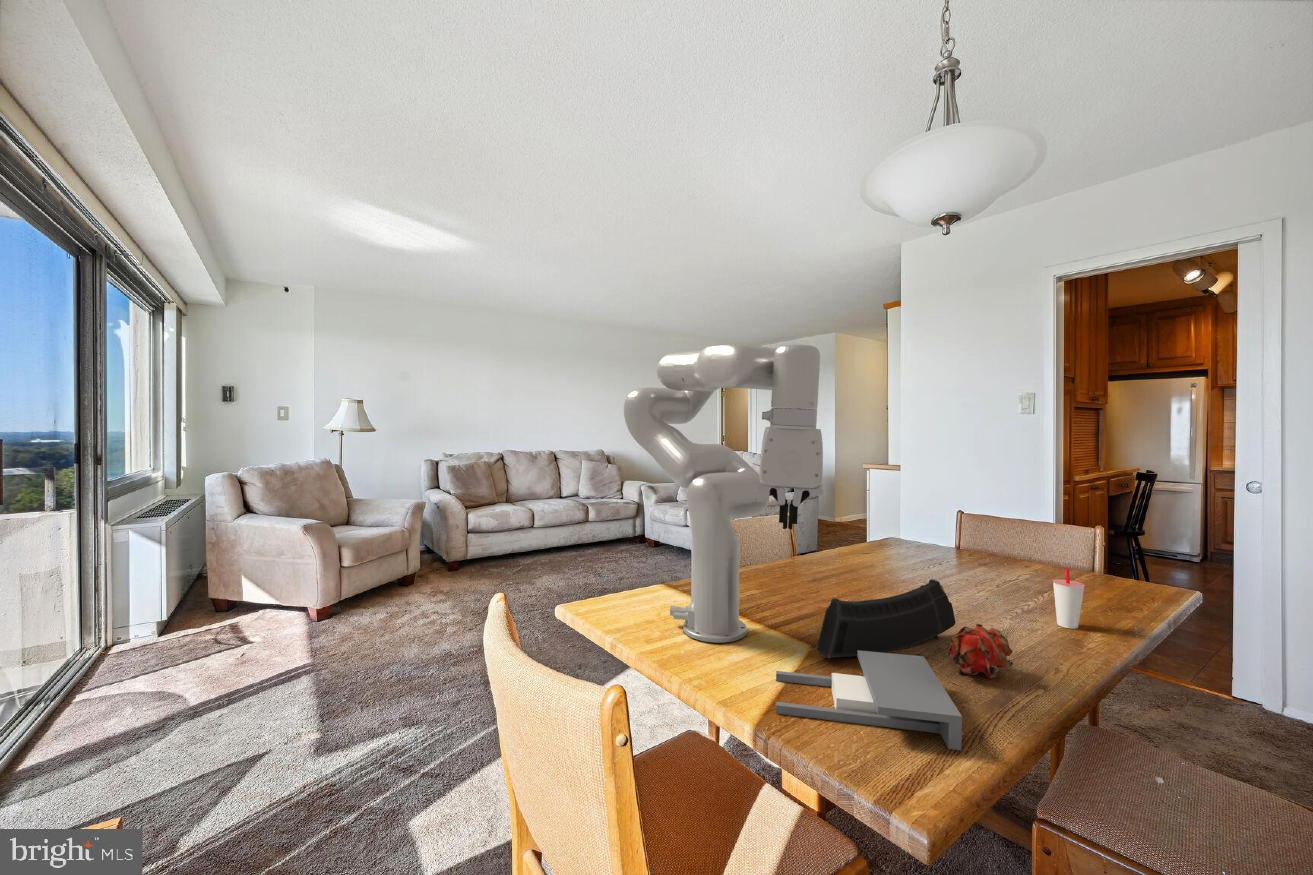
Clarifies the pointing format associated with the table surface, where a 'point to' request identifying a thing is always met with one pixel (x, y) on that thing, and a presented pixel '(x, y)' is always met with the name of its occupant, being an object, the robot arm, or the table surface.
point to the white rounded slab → (852, 693)
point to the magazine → (885, 622)
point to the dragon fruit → (980, 651)
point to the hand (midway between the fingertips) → (787, 527)
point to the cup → (1068, 601)
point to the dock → (890, 697)
